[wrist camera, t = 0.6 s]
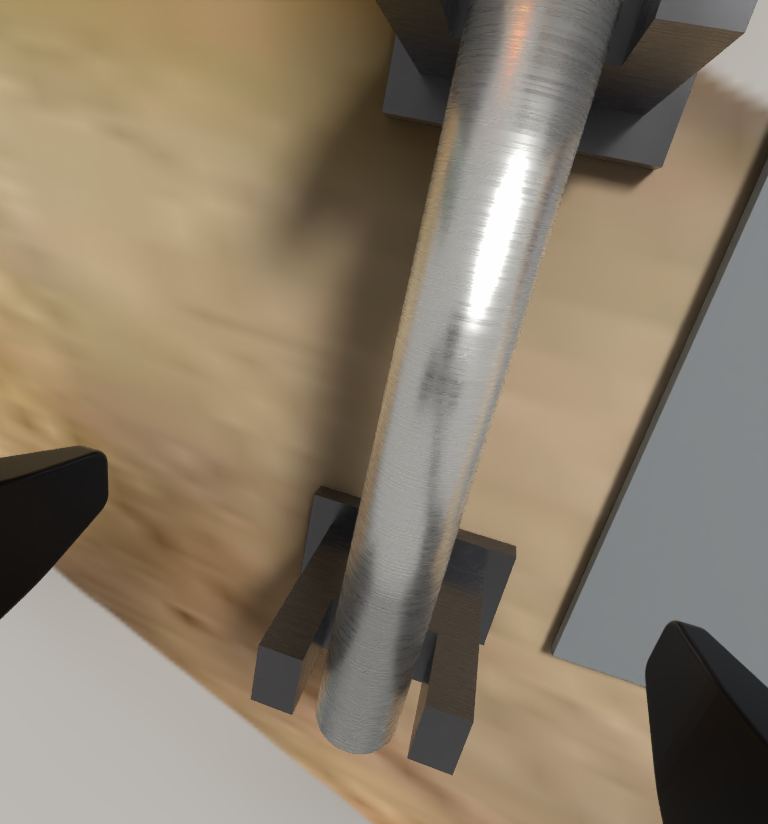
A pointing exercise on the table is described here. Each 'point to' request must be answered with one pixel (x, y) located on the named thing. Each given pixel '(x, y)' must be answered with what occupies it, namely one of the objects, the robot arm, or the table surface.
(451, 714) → the dark grey notched cradle
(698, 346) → the grey plate
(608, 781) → the table surface
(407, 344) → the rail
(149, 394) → the table surface
